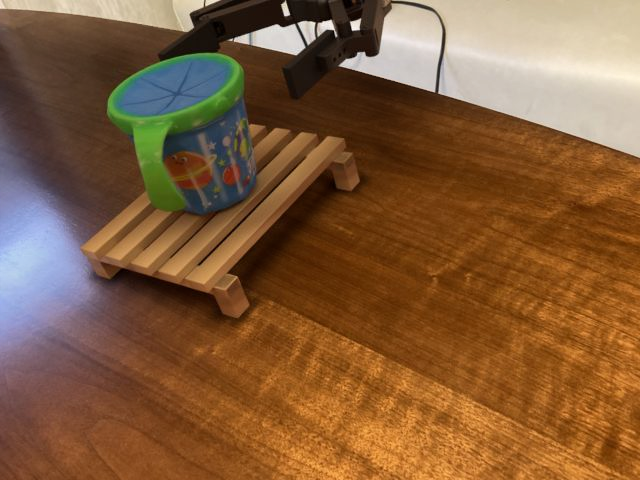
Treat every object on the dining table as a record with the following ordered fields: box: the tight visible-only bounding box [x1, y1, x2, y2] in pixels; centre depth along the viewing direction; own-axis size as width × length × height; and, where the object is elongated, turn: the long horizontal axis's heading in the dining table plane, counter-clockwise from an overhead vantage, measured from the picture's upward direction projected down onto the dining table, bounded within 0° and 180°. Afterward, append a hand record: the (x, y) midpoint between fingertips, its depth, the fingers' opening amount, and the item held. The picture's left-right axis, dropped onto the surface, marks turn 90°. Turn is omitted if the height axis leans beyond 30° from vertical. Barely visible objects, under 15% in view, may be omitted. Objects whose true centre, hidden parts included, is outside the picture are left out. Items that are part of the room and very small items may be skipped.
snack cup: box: [106, 52, 258, 215], centre depth 63 cm, size 16×10×10 cm
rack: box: [79, 123, 361, 319], centre depth 68 cm, size 16×20×4 cm
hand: (224, 76), depth 64 cm, fingers open, 13 cm apart
